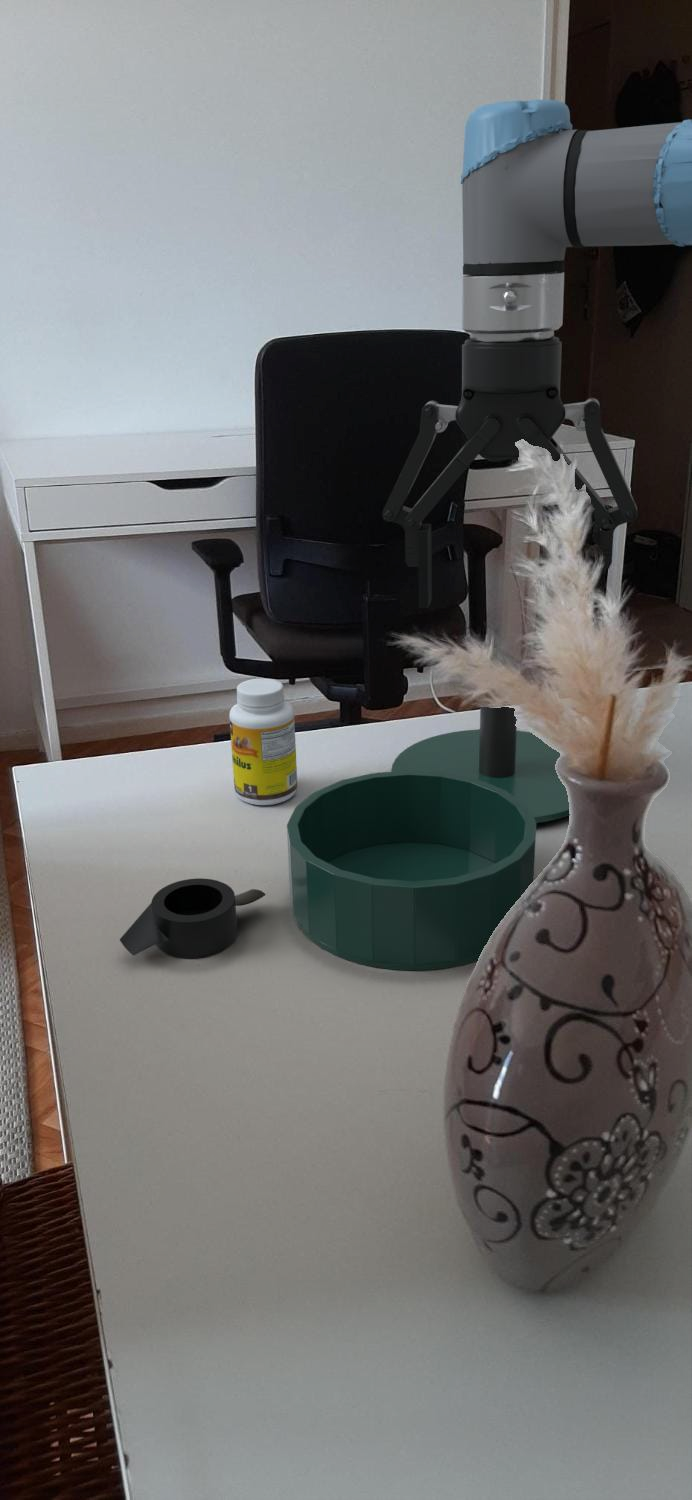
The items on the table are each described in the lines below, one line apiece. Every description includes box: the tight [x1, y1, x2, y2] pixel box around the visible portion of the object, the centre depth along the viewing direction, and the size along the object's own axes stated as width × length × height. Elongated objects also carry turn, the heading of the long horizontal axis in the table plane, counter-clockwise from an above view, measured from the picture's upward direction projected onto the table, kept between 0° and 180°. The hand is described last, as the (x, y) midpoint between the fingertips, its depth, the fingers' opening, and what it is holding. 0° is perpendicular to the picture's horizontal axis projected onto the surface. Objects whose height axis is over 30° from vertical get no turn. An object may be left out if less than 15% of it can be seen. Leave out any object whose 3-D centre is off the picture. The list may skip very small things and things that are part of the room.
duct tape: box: [119, 877, 266, 959], centre depth 81 cm, size 8×10×3 cm
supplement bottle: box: [228, 677, 298, 806], centre depth 99 cm, size 6×6×10 cm
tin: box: [286, 770, 537, 971], centre depth 83 cm, size 18×18×6 cm
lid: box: [390, 707, 570, 824], centre depth 101 cm, size 19×19×10 cm
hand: (506, 605), depth 96 cm, fingers open, 13 cm apart
